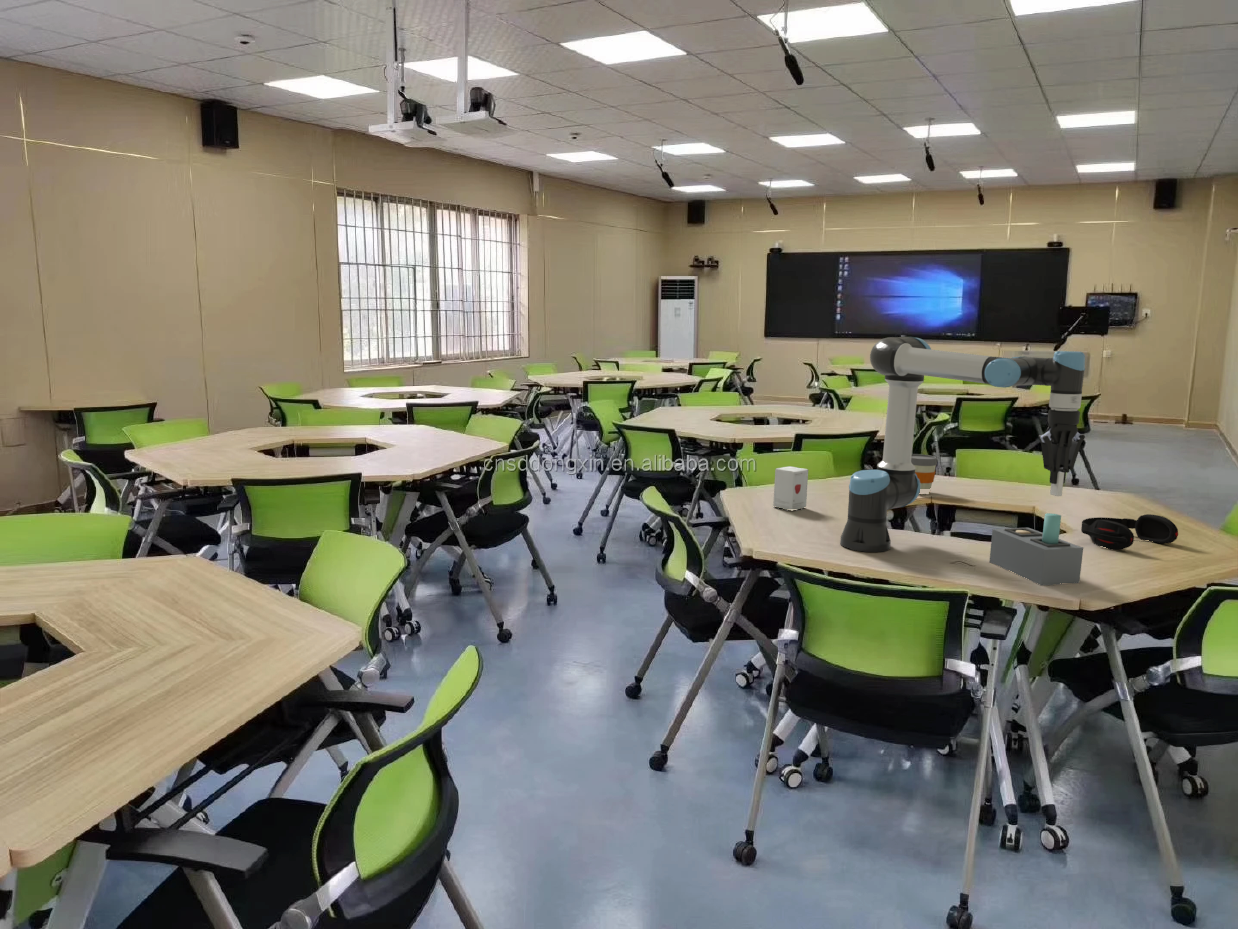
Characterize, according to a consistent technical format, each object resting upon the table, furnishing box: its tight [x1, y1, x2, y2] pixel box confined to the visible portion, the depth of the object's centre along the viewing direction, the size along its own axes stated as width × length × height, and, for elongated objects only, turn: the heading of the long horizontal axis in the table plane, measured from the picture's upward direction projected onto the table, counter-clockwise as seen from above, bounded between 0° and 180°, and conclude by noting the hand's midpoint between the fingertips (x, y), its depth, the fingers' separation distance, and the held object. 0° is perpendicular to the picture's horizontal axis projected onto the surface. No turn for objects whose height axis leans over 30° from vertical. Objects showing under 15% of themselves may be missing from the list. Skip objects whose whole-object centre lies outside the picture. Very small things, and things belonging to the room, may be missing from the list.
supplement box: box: [772, 466, 809, 509], centre depth 315 cm, size 9×9×15 cm
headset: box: [1080, 514, 1179, 551], centre depth 272 cm, size 28×26×9 cm
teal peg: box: [1042, 512, 1062, 544], centre depth 233 cm, size 4×4×10 cm
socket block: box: [988, 527, 1084, 586], centre depth 240 cm, size 22×12×10 cm, turn 13°
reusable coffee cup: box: [911, 453, 938, 489], centre depth 346 cm, size 13×13×15 cm
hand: (1055, 495), depth 231 cm, fingers closed
